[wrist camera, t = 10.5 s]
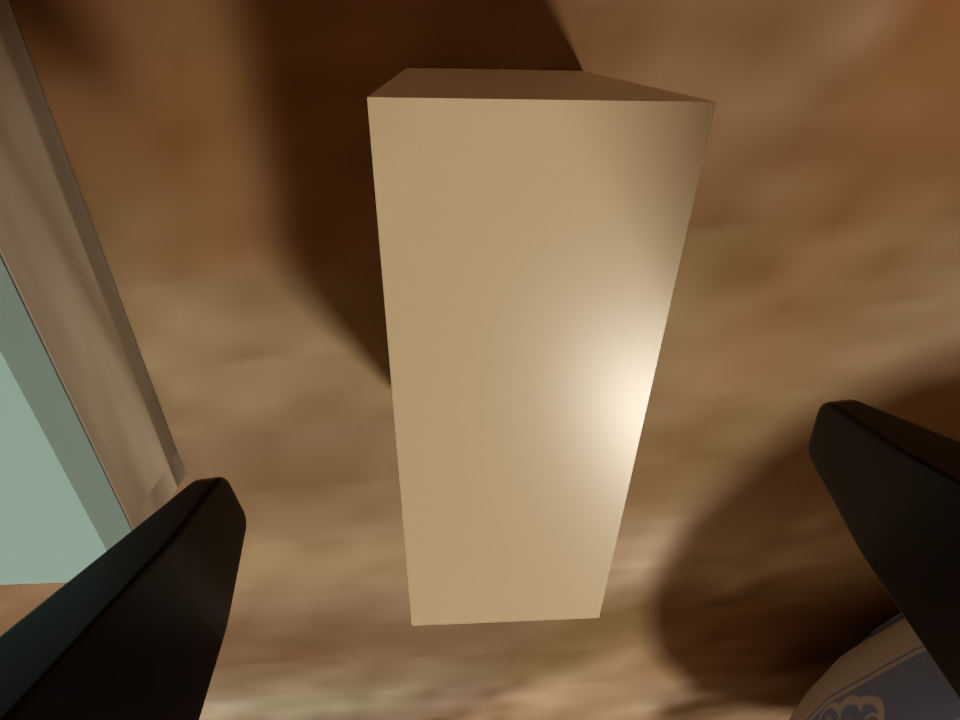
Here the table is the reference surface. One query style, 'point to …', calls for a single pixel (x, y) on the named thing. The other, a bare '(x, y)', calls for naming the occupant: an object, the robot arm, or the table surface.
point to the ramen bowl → (882, 682)
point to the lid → (45, 465)
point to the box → (75, 293)
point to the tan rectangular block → (524, 321)
